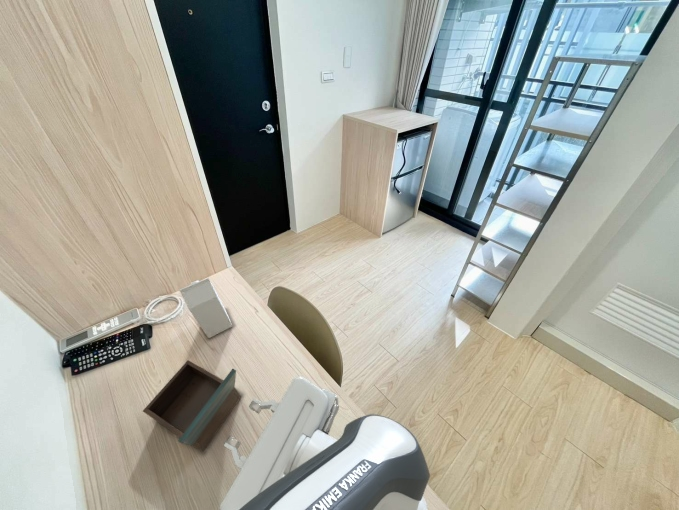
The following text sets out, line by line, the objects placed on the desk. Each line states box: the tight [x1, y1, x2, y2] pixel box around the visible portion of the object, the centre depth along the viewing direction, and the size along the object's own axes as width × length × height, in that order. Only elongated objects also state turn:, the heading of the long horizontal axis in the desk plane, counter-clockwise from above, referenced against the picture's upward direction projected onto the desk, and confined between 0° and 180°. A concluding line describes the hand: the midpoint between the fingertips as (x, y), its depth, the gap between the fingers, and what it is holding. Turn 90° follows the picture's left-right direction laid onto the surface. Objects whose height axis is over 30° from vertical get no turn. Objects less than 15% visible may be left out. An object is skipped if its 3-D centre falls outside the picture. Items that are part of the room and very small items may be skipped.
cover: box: [178, 368, 237, 447], centre depth 52 cm, size 15×13×1 cm
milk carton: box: [178, 277, 233, 339], centre depth 75 cm, size 7×7×19 cm
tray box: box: [142, 359, 242, 453], centre depth 63 cm, size 15×13×7 cm
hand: (240, 421), depth 44 cm, fingers open, 5 cm apart
